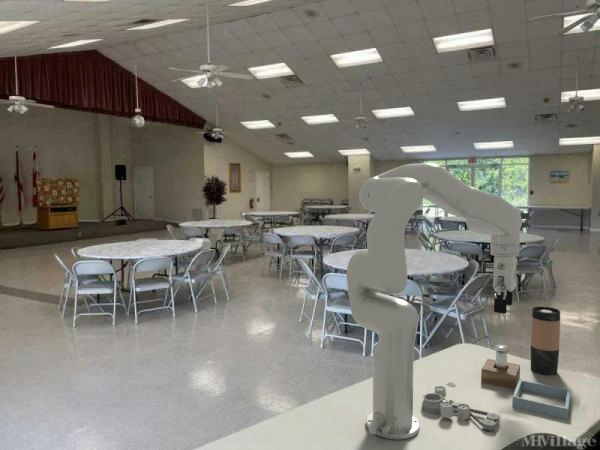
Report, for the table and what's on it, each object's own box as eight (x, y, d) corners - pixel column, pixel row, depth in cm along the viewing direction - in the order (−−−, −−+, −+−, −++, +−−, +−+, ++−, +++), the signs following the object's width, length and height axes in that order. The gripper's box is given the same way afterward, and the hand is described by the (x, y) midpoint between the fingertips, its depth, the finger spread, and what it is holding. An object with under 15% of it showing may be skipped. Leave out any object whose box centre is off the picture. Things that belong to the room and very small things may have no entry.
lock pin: (506, 383, 132) (507, 349, 132) (492, 380, 134) (493, 347, 133) (508, 379, 136) (509, 346, 135) (495, 376, 137) (496, 343, 136)
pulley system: (452, 442, 107) (509, 430, 110) (451, 423, 106) (508, 411, 109) (401, 394, 133) (448, 385, 136) (400, 378, 133) (447, 370, 136)
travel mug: (563, 375, 140) (566, 311, 138) (546, 380, 136) (549, 314, 134) (540, 366, 146) (543, 305, 145) (524, 371, 143) (526, 308, 141)
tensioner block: (514, 392, 129) (515, 375, 128) (481, 385, 134) (481, 368, 133) (519, 381, 136) (520, 364, 136) (487, 374, 141) (487, 358, 141)
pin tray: (567, 422, 113) (567, 409, 112) (512, 409, 119) (512, 396, 119) (569, 402, 123) (570, 389, 123) (518, 391, 130) (519, 379, 130)
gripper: (514, 255, 122) (512, 318, 124) (523, 246, 136) (521, 303, 138) (484, 253, 126) (483, 314, 128) (496, 245, 140) (494, 300, 142)
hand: (503, 308), depth 133 cm, fingers open, 9 cm apart
